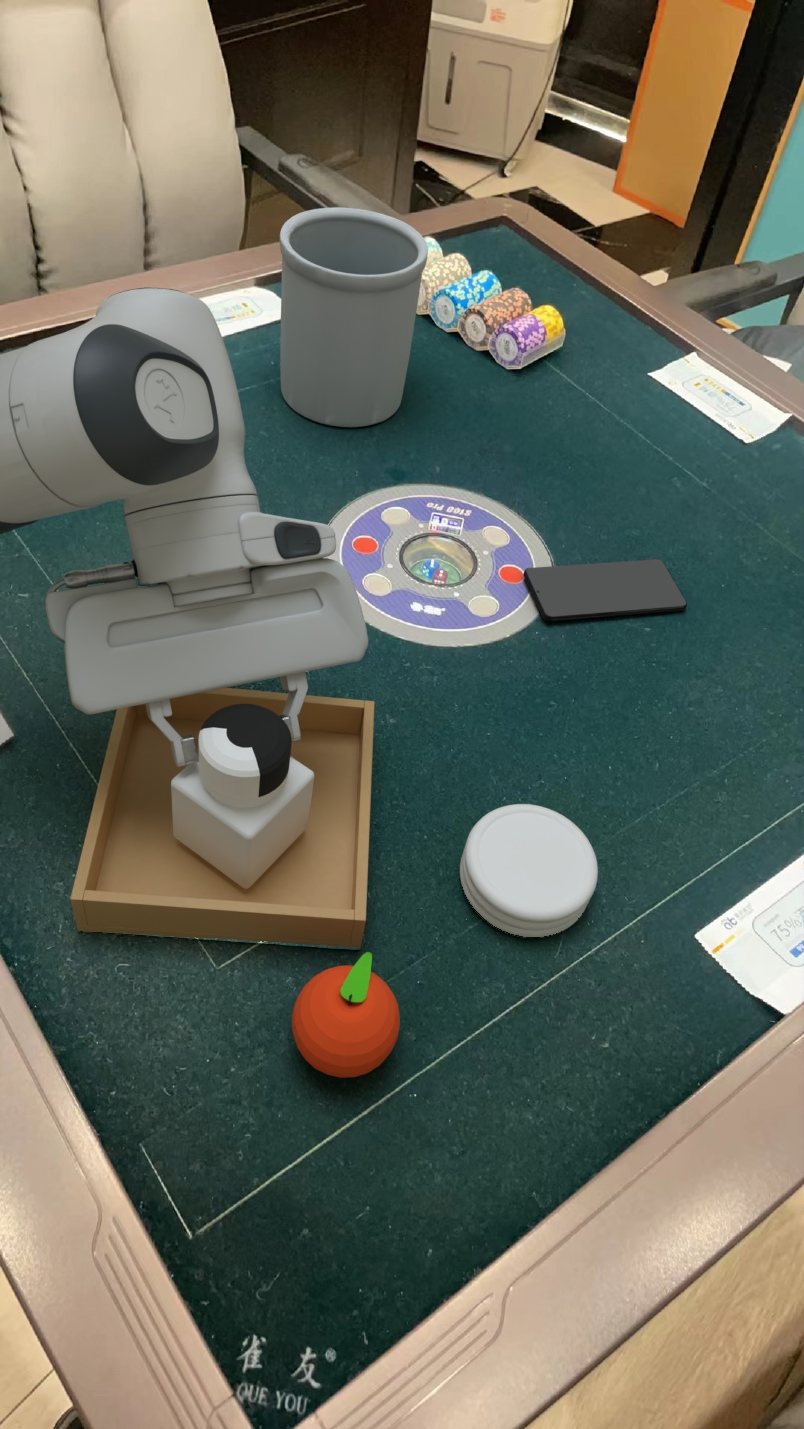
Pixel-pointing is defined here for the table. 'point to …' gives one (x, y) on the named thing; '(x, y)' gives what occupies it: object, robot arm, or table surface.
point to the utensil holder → (347, 313)
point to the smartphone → (604, 589)
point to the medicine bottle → (242, 793)
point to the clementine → (346, 1020)
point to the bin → (189, 890)
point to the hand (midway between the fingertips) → (239, 752)
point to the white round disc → (528, 870)
